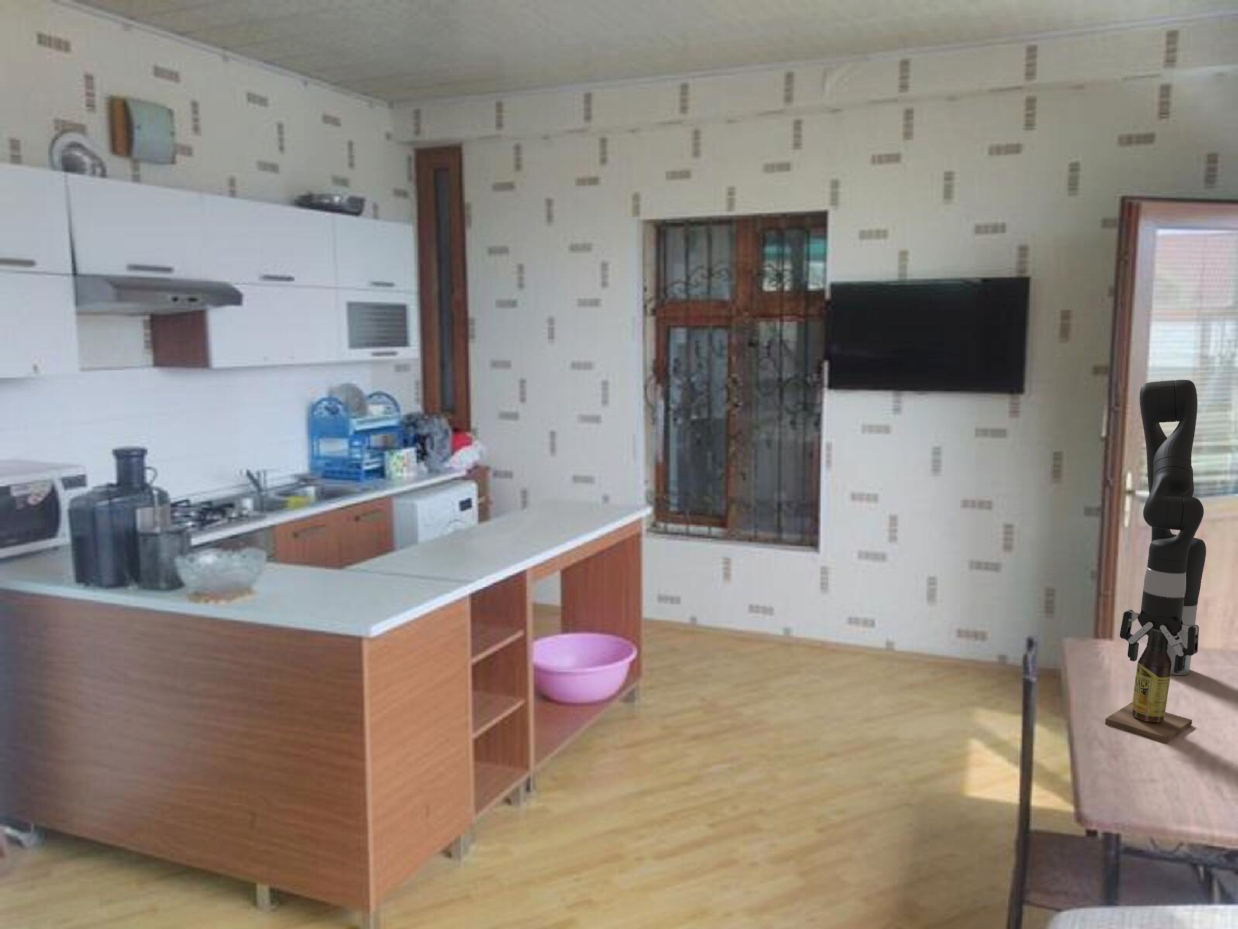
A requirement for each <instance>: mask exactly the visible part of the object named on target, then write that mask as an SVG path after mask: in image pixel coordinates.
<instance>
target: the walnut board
mask: <svg viewBox="0 0 1238 929" xmlns="http://www.w3.org/2000/svg"><path fill="white" fill-rule="evenodd" d="M1104 722H1105V725H1107V726H1111V727H1114V728H1117V729H1120V730H1123V731H1126V732H1130V733H1133V734H1136V735H1138V736H1142V737H1145V738H1149V739H1152V740H1154V741H1158V742H1162V743H1165V744H1168V743H1169V742H1171V741H1172V740H1173V739H1175V738H1176V737H1178V736H1179V735H1181V734H1182V733H1183V732H1185V731H1186V730H1187V729H1189V728H1190V727H1191V726H1192V725H1193V719H1190V718H1187V717H1183V716H1181V715H1176V714H1174V713H1170V712H1166V711H1165V715H1164V720H1163V721H1162V722H1158V723H1152V722H1146V721H1141V720H1139V719H1138V718H1136V717H1134V716H1133V715H1132V702H1130V703H1129V704H1127V705H1125V706H1123V707H1121V708H1120V709H1119V710H1117V711H1116V712H1114V713H1112V714H1111V715H1109V716H1107V717H1105V721H1104Z"/></svg>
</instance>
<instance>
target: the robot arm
mask: <svg viewBox="0 0 1238 929" xmlns="http://www.w3.org/2000/svg"><path fill="white" fill-rule="evenodd" d="M1197 392H1198V391H1197V388H1196V385H1195V383H1194V382H1193V381H1192V380H1190V379H1174V380H1173V379H1172V380H1171V379H1170V380H1160V381H1159V380H1158V381H1149V382H1146V383H1143V385H1142V386H1141V387H1140V390H1139V408H1140V414H1141V422H1142V427H1143V428H1142V429H1143V434H1144V441H1145V449H1146V471H1147V472H1146V473H1147V474H1146V475H1147V484H1148V496H1147V499H1146V501H1145V504H1144V505H1143V506H1144V507H1143V510H1142V512H1143V513H1142V516H1143V519H1144V522H1145V523H1146V524H1147V525H1148V526H1150V527H1151V542H1150V544H1149V546H1148V547H1149V548H1148V558H1147V563H1146V564H1147V566H1146V571H1145V573H1144V574H1145V575H1144V580H1143V588H1142V597H1141V605H1140V612H1139V613H1138V612H1136V611H1134V610H1133V609H1128V610H1126V611H1124V612H1123V615H1122V620H1121V625H1120V626H1121V627H1120V632H1119V637H1120V638H1121V639H1123V640H1126V641H1127V643H1128V647H1127V648H1128V649H1127V658H1129V661H1131V662H1136V661H1138V654H1139V646H1140V645H1139V644H1140V643H1139V641H1140V640H1141V639H1142V638H1144V637H1145V636H1147V637H1148V636H1149V634H1148V631H1149V630H1150V629H1151V628H1154V629H1158V630H1161V631H1162V633H1163V634H1164V635H1165V637H1166V640H1168V646H1167V647H1168V649H1167V653H1168V655H1169V657H1170V659H1171V671H1170V675H1171V676H1173V675H1174V676H1186V675H1189V674H1190V668H1191V662H1192V656H1193V655H1196V654H1197V653H1198V651H1199V634H1200V633H1199V632H1200V627H1199V625H1197V624H1196V622H1197V621H1196V620H1197V613H1198V612H1197V611H1198V605H1199V598H1200V597H1199V596H1200V593H1201V592H1200V591H1201V585H1202V579H1203V572H1204V568H1205V562H1206V556H1207V546H1206V543H1205V541H1204V540H1203V539H1201V538H1198V537H1195V536H1196V533H1197V531H1198V530H1199V528H1200V525H1201V524H1202V520H1203V518H1204V514H1205V511H1204V510H1205V509H1204V505H1203V503H1202V501H1201V500H1200V499H1199V498H1198V497H1195V496H1194V493H1195V492H1194V491H1195V484H1194V483H1195V482H1194V481H1195V480H1194V469H1193V465H1192V455H1193V454H1192V453H1193V447H1194V440H1195V435H1196V425H1197V420H1198V419H1197V416H1198V405H1199V404H1198V393H1197ZM1160 423H1162V424H1163V423H1178V424H1177V426H1176V428H1174V430H1173V432H1171V434H1170V435H1169V436H1168V437H1167V436H1166V434H1165V433H1164V430H1163V429H1162V427H1161V424H1160ZM1171 530H1173V531H1174V530H1175V531H1179V532H1178V533H1177V534H1175V533H1172V531H1171ZM1136 620H1137V621H1138V623H1139V624H1140V626H1141V628H1140V629H1138V630H1137V631H1136V632H1135V633H1134V634H1132V633H1131V631H1132V625H1133V623H1134V622H1135V621H1136Z"/></svg>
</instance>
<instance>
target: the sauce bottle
mask: <svg viewBox="0 0 1238 929" xmlns="http://www.w3.org/2000/svg"><path fill="white" fill-rule="evenodd" d="M1148 634H1149V636H1148V635H1147V642H1146V646H1145V648H1144V650H1143V652H1142V654H1141V655H1140V658H1139V659H1138V660H1137V666H1136V673H1135V680H1134V686H1133V693H1132V694H1133V695H1132V702H1131V703H1132V715H1133V716H1134V717H1136V718H1138V719H1139V720H1141V721H1146V722H1152V723H1158V722H1162V721H1163V720H1164V715H1165V712H1166V710H1167V703H1168V694H1169V688H1170V682H1171V676H1172V675H1171V674H1170V671H1171V659H1170V657H1169V655H1168V653H1167V649H1168V647H1167V646H1168V640H1166V637H1165V635H1164V634H1163V633H1162V631H1161V630H1158V629H1154V628H1151V629H1150V630H1149V631H1148Z"/></svg>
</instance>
